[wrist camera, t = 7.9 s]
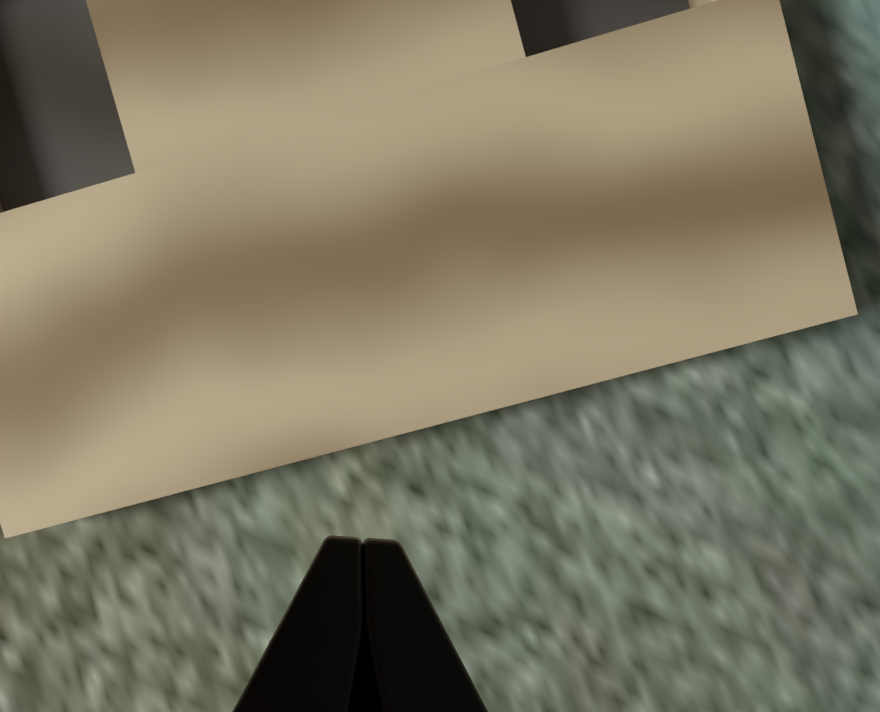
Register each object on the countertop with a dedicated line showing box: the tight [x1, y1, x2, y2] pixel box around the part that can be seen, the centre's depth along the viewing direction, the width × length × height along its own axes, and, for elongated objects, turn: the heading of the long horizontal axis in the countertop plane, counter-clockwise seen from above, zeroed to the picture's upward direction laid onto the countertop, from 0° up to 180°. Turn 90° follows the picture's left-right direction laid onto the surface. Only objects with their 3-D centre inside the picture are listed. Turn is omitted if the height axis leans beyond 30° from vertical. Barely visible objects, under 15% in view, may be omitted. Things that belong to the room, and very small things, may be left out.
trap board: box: [0, 0, 858, 538], centre depth 21 cm, size 20×22×4 cm
